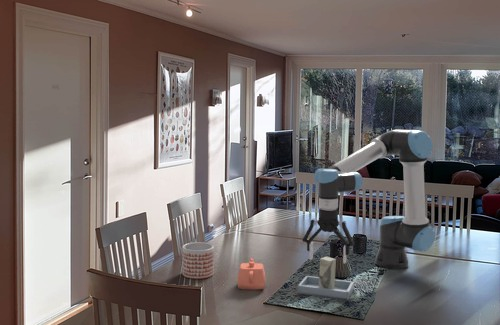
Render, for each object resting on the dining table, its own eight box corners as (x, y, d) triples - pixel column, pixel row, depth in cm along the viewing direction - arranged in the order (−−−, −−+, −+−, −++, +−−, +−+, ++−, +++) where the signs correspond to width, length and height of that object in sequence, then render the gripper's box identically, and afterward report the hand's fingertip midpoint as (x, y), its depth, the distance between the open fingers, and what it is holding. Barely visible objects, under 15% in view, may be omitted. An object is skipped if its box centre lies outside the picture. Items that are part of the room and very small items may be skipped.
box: (318, 289, 205) (319, 258, 204) (324, 286, 208) (325, 256, 207) (329, 292, 201) (329, 261, 200) (335, 290, 205) (336, 258, 203)
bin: (305, 283, 215) (306, 275, 214) (353, 289, 208) (354, 281, 207) (297, 293, 202) (297, 285, 202) (348, 300, 195) (348, 292, 195)
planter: (194, 281, 215) (194, 252, 214) (176, 273, 225) (176, 245, 224) (219, 275, 224) (220, 246, 223) (201, 267, 234) (201, 240, 233)
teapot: (236, 293, 202) (236, 268, 201) (238, 278, 220) (239, 255, 218) (265, 294, 201) (265, 268, 200) (265, 279, 219) (265, 255, 218)
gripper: (295, 208, 202) (295, 260, 205) (358, 212, 194) (357, 266, 196) (300, 204, 209) (300, 254, 212) (361, 208, 201) (360, 261, 203)
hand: (327, 260), depth 204 cm, fingers open, 13 cm apart
